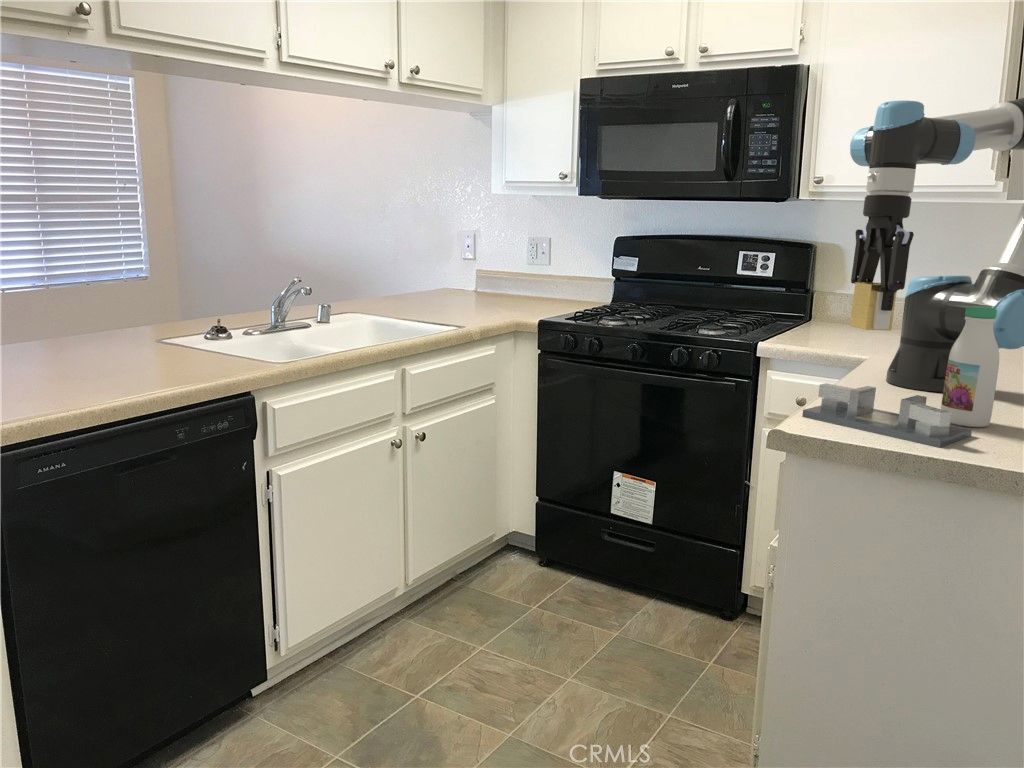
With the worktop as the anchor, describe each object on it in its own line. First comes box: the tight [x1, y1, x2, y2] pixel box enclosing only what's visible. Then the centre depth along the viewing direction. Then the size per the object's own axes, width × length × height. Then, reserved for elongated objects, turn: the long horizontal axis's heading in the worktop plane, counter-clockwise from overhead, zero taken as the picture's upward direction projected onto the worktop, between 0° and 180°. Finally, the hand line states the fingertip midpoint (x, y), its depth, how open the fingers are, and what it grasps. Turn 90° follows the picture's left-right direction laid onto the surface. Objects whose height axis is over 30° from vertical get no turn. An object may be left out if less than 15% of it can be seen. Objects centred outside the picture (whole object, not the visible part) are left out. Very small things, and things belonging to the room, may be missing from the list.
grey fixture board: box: [802, 383, 973, 448], centre depth 137 cm, size 12×23×6 cm, turn 41°
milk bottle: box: [940, 306, 1000, 428], centre depth 140 cm, size 8×8×20 cm
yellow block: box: [849, 281, 898, 332], centre depth 148 cm, size 5×5×8 cm
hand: (871, 326), depth 149 cm, fingers closed on yellow block, 5 cm apart
